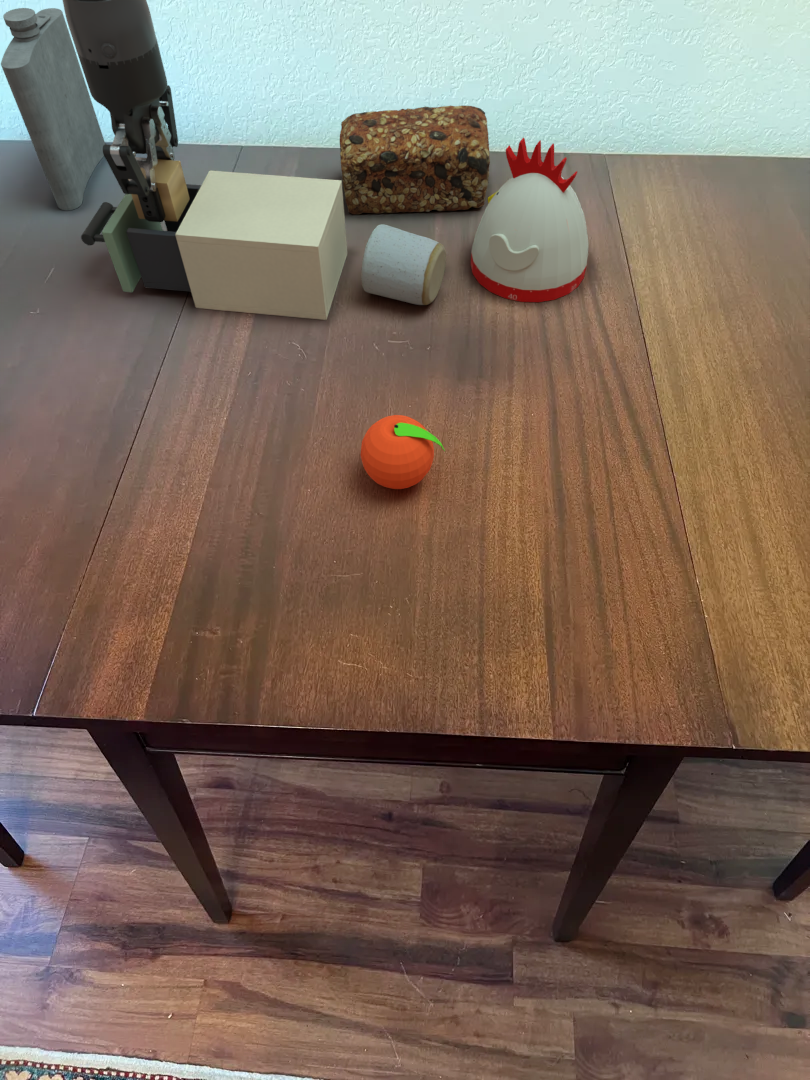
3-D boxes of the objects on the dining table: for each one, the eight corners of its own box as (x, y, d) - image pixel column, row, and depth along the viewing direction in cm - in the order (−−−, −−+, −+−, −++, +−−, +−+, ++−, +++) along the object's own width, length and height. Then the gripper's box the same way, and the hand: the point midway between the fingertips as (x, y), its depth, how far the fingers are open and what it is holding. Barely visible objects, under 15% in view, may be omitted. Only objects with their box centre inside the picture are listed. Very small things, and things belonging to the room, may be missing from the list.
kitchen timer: (499, 220, 100) (511, 99, 88) (601, 250, 96) (628, 128, 84) (451, 281, 93) (457, 159, 81) (559, 315, 89) (583, 193, 77)
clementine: (448, 455, 78) (451, 403, 72) (438, 509, 74) (440, 460, 68) (370, 445, 78) (366, 394, 73) (355, 499, 74) (350, 449, 69)
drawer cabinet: (195, 308, 91) (174, 234, 83) (225, 243, 98) (209, 170, 90) (326, 320, 89) (318, 246, 82) (347, 254, 97) (341, 180, 89)
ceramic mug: (427, 321, 89) (429, 262, 83) (361, 305, 91) (357, 246, 85) (456, 268, 95) (459, 209, 89) (393, 254, 97) (392, 195, 90)
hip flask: (78, 210, 102) (15, 44, 86) (48, 210, 103) (-22, 43, 86) (110, 146, 111) (57, -16, 95) (82, 146, 112) (25, -16, 95)
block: (138, 218, 87) (126, 180, 83) (152, 196, 89) (140, 157, 86) (177, 221, 86) (167, 183, 83) (190, 198, 89) (180, 160, 85)
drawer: (87, 288, 92) (63, 228, 85) (122, 231, 98) (101, 172, 92) (243, 302, 90) (230, 243, 84) (267, 243, 96) (257, 184, 90)
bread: (480, 170, 107) (486, 94, 99) (487, 215, 101) (493, 138, 93) (344, 172, 107) (339, 97, 99) (343, 218, 101) (337, 141, 93)
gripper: (105, 6, 78) (152, 170, 92) (47, 73, 70) (108, 242, 84) (177, 9, 77) (214, 174, 91) (127, 78, 69) (175, 247, 83)
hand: (163, 206), depth 88 cm, fingers closed on block, 4 cm apart
